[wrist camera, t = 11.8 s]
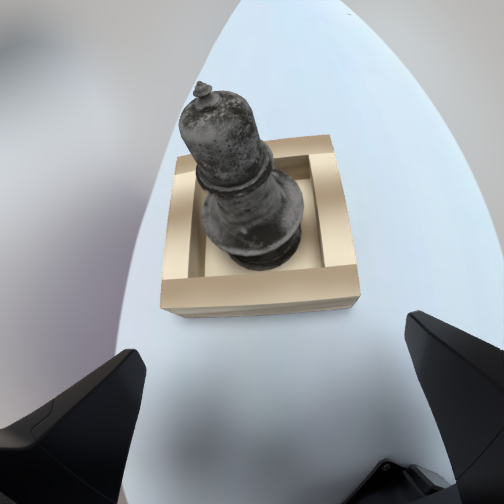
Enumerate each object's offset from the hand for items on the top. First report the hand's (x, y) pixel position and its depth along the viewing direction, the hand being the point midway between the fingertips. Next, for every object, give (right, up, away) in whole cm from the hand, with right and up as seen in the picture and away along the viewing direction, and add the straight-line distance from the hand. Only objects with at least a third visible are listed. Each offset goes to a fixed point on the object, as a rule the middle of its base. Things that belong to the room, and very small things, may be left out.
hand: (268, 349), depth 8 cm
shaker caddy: (0, +4, +11) cm, 12 cm away
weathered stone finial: (0, +4, +11) cm, 12 cm away
